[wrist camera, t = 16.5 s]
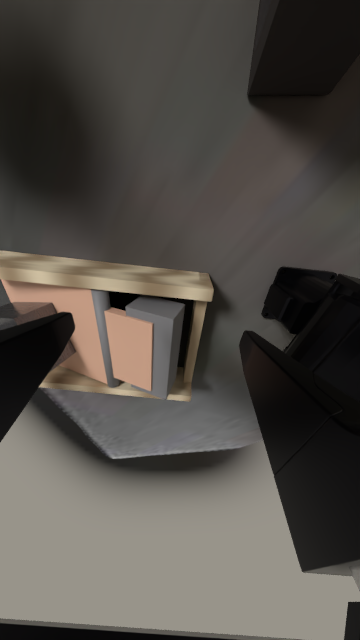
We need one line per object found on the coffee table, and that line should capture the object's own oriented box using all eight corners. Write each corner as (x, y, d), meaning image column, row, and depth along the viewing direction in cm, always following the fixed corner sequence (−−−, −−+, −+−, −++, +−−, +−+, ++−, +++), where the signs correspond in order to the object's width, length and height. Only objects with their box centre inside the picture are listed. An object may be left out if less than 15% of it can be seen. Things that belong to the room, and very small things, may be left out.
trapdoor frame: (208, 273, 21) (213, 289, 16) (189, 373, 30) (190, 401, 25) (-12, 249, 20) (-69, 259, 16) (36, 357, 29) (9, 384, 25)
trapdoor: (186, 295, 18) (172, 312, 15) (174, 384, 26) (163, 408, 22) (28, 259, 23) (-9, 265, 20) (56, 342, 31) (33, 357, 27)
